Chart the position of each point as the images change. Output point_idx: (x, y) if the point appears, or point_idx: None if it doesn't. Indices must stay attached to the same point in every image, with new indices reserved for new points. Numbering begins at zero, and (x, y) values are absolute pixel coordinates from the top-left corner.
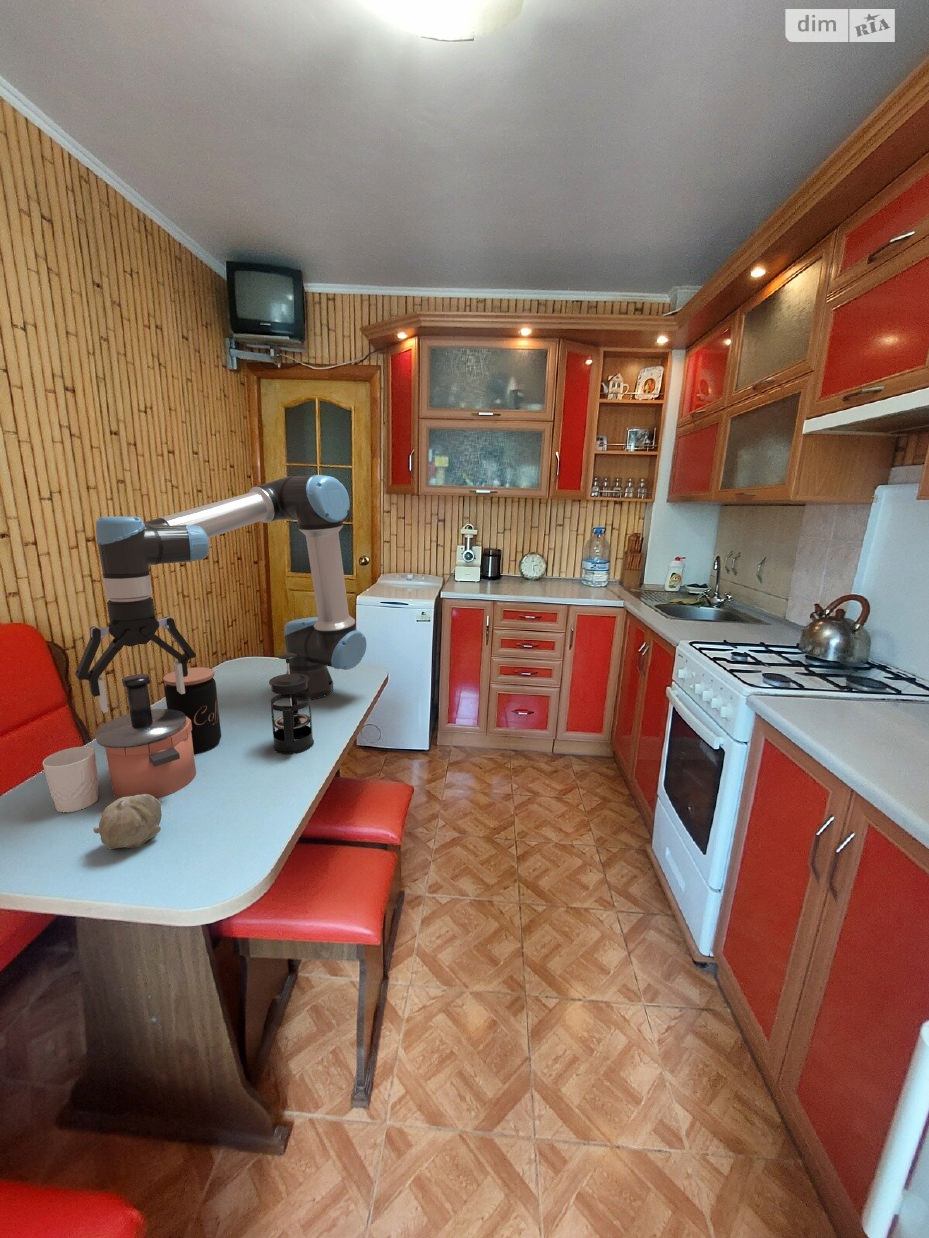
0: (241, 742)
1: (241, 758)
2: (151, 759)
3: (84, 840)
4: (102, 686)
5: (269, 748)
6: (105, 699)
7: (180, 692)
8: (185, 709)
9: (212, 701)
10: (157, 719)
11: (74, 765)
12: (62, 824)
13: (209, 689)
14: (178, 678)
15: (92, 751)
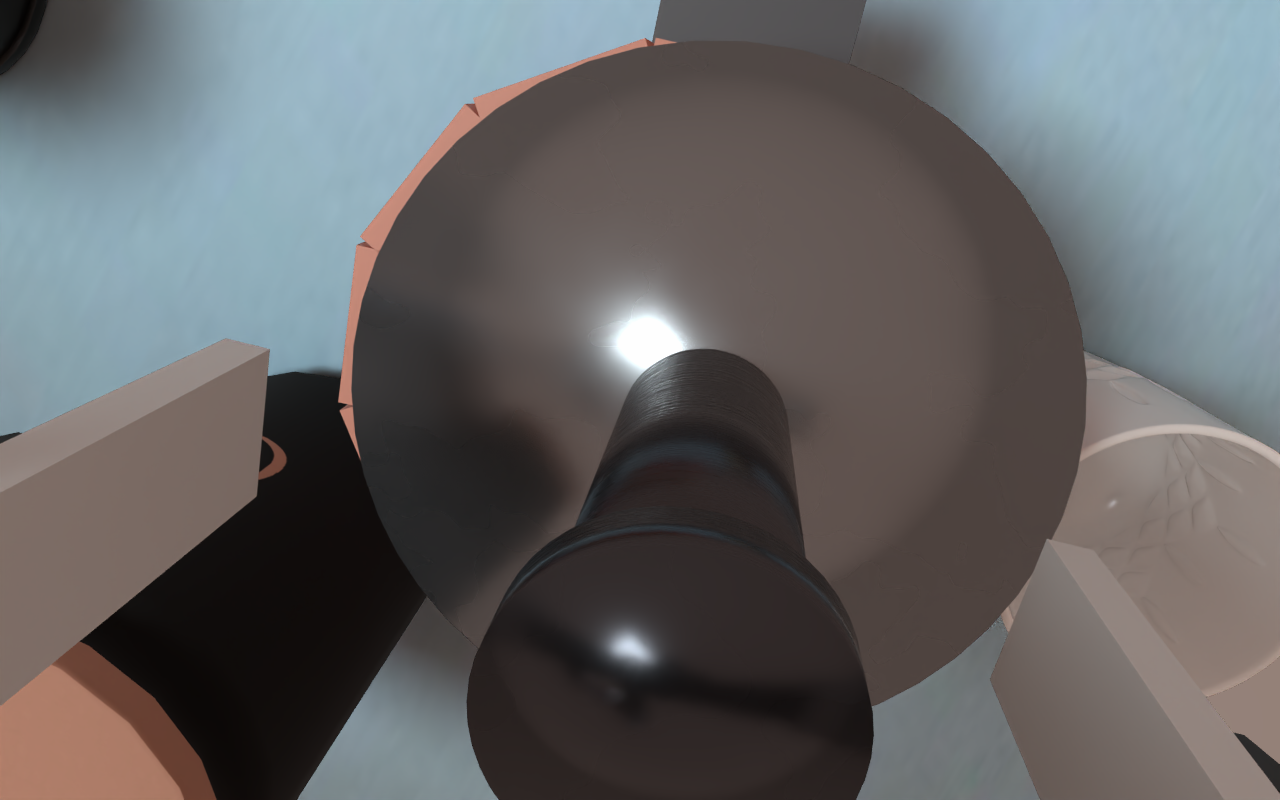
0: (142, 291)
1: (243, 95)
2: (863, 7)
3: (1257, 9)
4: (1223, 767)
5: (57, 53)
6: (1116, 627)
7: (260, 378)
8: (270, 547)
9: None
10: (569, 419)
11: (1210, 424)
12: (1206, 285)
13: None
14: (143, 462)
15: None
